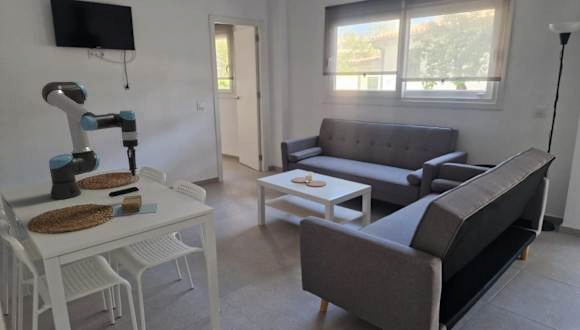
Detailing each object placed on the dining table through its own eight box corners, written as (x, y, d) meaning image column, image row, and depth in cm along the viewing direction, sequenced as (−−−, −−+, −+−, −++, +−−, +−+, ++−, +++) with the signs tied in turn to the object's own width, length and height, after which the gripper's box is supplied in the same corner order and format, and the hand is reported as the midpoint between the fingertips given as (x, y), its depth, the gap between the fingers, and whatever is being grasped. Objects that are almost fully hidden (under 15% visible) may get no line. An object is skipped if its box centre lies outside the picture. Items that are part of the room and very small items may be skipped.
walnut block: (124, 196, 192) (121, 204, 179) (141, 195, 194) (138, 202, 182) (125, 205, 193) (122, 213, 181) (142, 203, 195) (139, 212, 183)
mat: (109, 207, 190) (109, 207, 190) (157, 203, 196) (157, 203, 196) (103, 217, 176) (103, 216, 176) (156, 212, 183) (156, 211, 183)
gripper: (136, 140, 192) (140, 183, 197) (138, 137, 204) (142, 177, 209) (120, 141, 190) (125, 184, 195) (124, 137, 202) (128, 178, 207)
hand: (134, 181), depth 202 cm, fingers closed
